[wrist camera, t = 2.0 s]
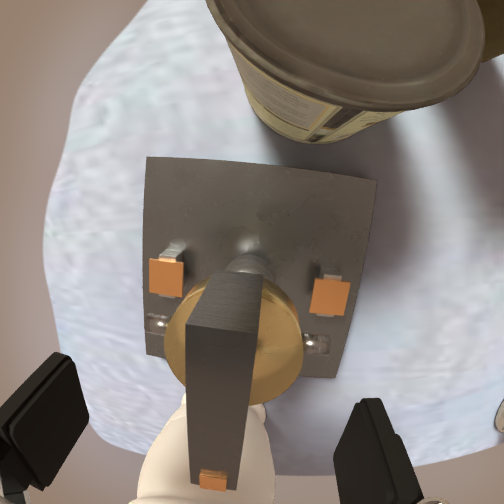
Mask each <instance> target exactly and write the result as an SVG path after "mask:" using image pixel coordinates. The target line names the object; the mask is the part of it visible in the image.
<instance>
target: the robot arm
mask: <svg viewBox="0 0 504 504" xmlns="http://www.w3.org/2000/svg"><path fill="white" fill-rule="evenodd" d="M88 422H89V413H88V410H87V406H86V403H85V400H84V396H83V393H82V389H81V385H80V382H79V378H78V374H77V370H76V366H75V363H74V362H73V361H72V359H71V357H70V356H67V355H64V354H61V353H58V352H54V353H53V354H52V355H51V356H50V357H49V358H48V359H47V360H46V361H45V362H44V363H43V364H42V365H41V366H40V367H39V368H38V369H37V370H36V371H35V372H34V373H33V374H32V375H31V376H30V377H29V378H28V379H27V380H26V381H25V382H24V383H23V384H22V385H21V386H20V387H19V388H18V389H17V390H16V391H15V392H14V393H13V394H12V395H11V397H10V398H9V399H8V400H7V401H6V402H5V403H4V404H3V405H2V406H1V407H0V504H31V503H30V499H29V495H28V490H27V488H28V486H29V485H32V486H33V487H35V488H37V489H39V490H41V491H43V490H44V488H45V487H46V486H49V485H50V484H51V483H52V481H53V480H54V478H55V476H56V475H57V473H58V471H59V469H60V468H61V466H62V464H63V463H64V461H65V460H66V458H67V456H68V455H69V453H70V451H71V450H72V448H73V446H74V445H75V443H76V442H77V440H78V438H79V437H80V435H81V434H82V432H83V430H84V429H85V427H86V425H87V424H88ZM495 424H496V427H497V428H498V430H499V431H500V432H503V433H504V401H503V402H502V404H501V406H500V408H499V410H498V413H497V415H496V420H495ZM333 462H334V468H335V474H336V480H337V485H338V492H339V497H340V504H450V503H449V502H447V501H446V500H444V499H442V498H439V497H428V498H425V499H424V496H423V493H422V491H421V488H420V485H419V483H418V480H417V477H416V475H415V472H414V469H413V467H412V464H411V462H410V459H409V457H408V454H407V451H406V449H405V446H404V444H403V442H402V439H401V437H400V436H399V435H398V434H395V432H394V430H393V427H392V425H391V422H390V420H389V417H388V415H387V412H386V410H385V408H384V405H383V403H382V401H381V399H380V398H363V399H362V400H361V401H360V403H356V404H355V406H354V408H353V411H352V413H351V415H350V418H349V420H348V423H347V425H346V427H345V430H344V432H343V434H342V436H341V439H340V441H339V443H338V445H337V447H336V450H335V452H334V456H333Z"/></svg>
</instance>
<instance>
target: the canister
mask: <svg viewBox="0 0 504 504" xmlns="http://www.w3.org/2000/svg"><path fill="white" fill-rule="evenodd" d="M477 2H478V5H479V7H480V10H481V14H482V17H483V22H484V29H485V45H484V52H483V56H482V60H481V63H483V62H485V61H487V60H490V59H492V58H494V57H497V56H499V55H502V54H504V0H477Z"/></svg>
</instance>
